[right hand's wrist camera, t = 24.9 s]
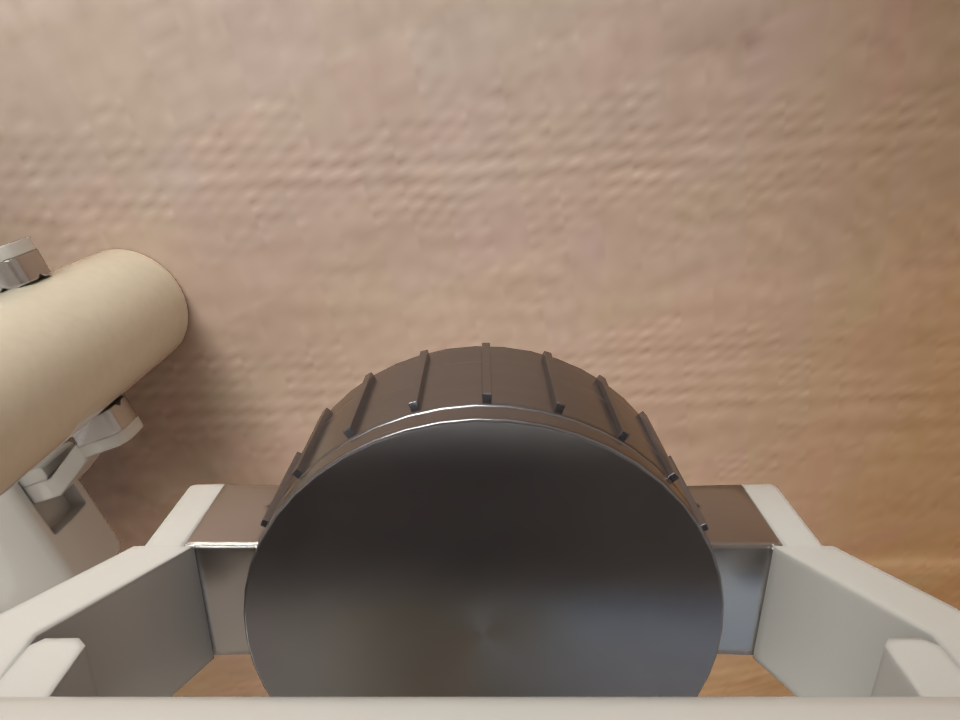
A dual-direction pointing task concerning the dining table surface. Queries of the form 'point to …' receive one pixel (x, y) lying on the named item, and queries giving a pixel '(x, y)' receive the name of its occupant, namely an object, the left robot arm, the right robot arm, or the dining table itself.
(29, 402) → the jar
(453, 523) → the lid
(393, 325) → the dining table surface
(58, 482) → the left robot arm
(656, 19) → the dining table surface
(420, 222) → the dining table surface
